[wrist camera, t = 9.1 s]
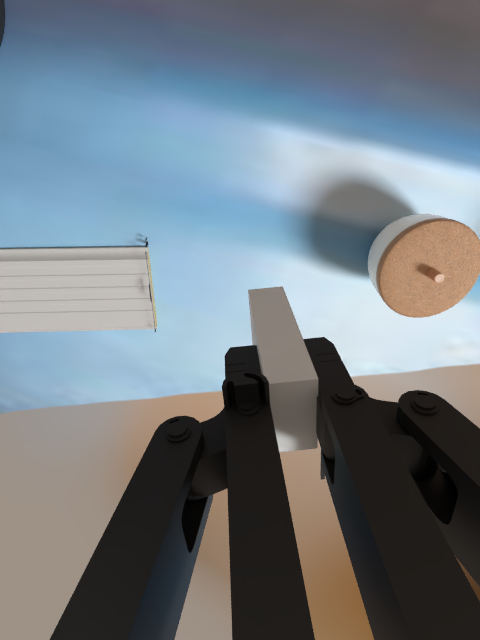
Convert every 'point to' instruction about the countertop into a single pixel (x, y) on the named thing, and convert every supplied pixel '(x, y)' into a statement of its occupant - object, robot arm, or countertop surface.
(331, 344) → the robot arm
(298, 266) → the countertop surface
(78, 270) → the baseboard
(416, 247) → the lidded jar
